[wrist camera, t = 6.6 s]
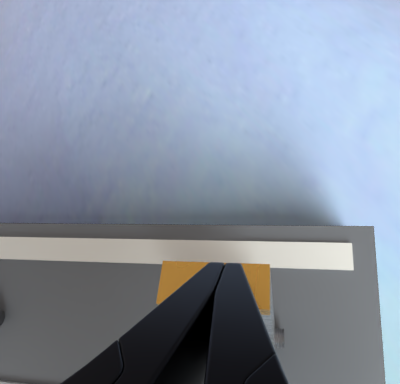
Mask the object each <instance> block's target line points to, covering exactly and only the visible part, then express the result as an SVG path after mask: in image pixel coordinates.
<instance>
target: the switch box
mask: <svg viewBox="0 0 400 384" xmlns="http://www.w3.org/2000/svg"><path fill="white" fill-rule="evenodd" d="M163 261H184V262H223V263H250V264H270V272H271V284H272V297H273V309H274V321H275V328H279V329H284V349H279V348H275V352H276V355H277V356H278V358H279V361H280V363H281V366H282V368H283V371H284V373H285V375H286V378H287V380H288V382H289V384H385V370H384V357H383V344H382V330H381V317H380V304H379V290H378V277H377V264H376V251H375V237H374V226H281V225H165V224H48V223H0V310H3V311H4V312H5V320H4V322H3V324H2V325H1V326H0V384H60V383H62V382H63V381H64V380H66V379H67V378H68V377H70V376H71V375H73V374H74V373H75V372H77V371H78V370H79V369H81V368H82V367H83V366H85V365H86V364H87V363H89V362H90V361H91V360H92V359H94V358H95V357H96V356H97V355H99V354H100V353H101V352H102V351H104V350H105V349H106V348H107V347H108V346H110V345H111V344H112V343H113V342H114V341H116V340H118V341H119V338H120V337H121V336H122V335H123V334H125V333H126V332H127V331H128V330H129V329H131V328H132V327H133V326H134V325H135V324H137V323H138V322H139V321H140V320H141V319H142V318H144V317H145V316H146V315H147V314H148V313H150V312H151V311H152V310H153V309H154V308H156V307H157V306H158V305H157V304H156V301H157V294H158V288H159V282H160V275H161V269H162V263H163Z"/></svg>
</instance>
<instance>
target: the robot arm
mask: <svg viewBox="0 0 400 384" xmlns="http://www.w3.org/2000/svg"><path fill="white" fill-rule="evenodd" d="M60 384H289V382H288V380H287V378H286V375H285V373H284V371H283V368H282V366H281V363H280V361H279V358H278V356H277V355H276V352H275V349H274V346H273V344H272V341H271V339H270V336H269V334H268V331H267V328H266V326H265V323H264V321H263V318H262V316H261V313H260V310H259V308H258V305H257V303H256V300H255V298H254V295H253V292H252V290H251V287H250V285H249V282H248V280H247V277H246V274H245V272H244V269H243V267H242V265H241V264H240V263H226V264H224V263H223V262H210V263H208V264H207V265H206V266H204V267H203V268H202V269H201V270H200V271H198V272H197V273H196V274H195V275H194V276H192V277H191V278H190V279H189V280H188V281H186V282H185V283H184V284H183V285H182V286H181V287H179V288H178V289H177V290H176V291H175V292H173V293H172V294H171V295H170V296H169V297H167V298H166V299H165V300H164V301H163V302H161V303H160V304H159V305H158V306H157V307H156V308H154V309H153V310H152V311H151V312H150V313H148V314H147V315H146V316H145V317H144V318H142V319H141V320H140V321H139V322H138V323H137V324H135V325H134V326H133V327H132V328H131V329H129V330H128V331H127V332H126V333H125V334H123V335H122V336H121V337H120V338H119V341H118V340H116V341H114V342H113V343H112V344H111V345H110V346H108V347H107V348H106V349H105V350H104V351H102V352H101V353H100V354H99V355H97V356H96V357H95V358H94V359H92V360H91V361H90V362H89V363H87V364H86V365H85V366H83V367H82V368H81V369H79V370H78V371H77V372H75V373H74V374H73V375H71V376H70V377H68V378H67V379H66V380H64V381H63V382H62V383H60Z"/></svg>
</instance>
